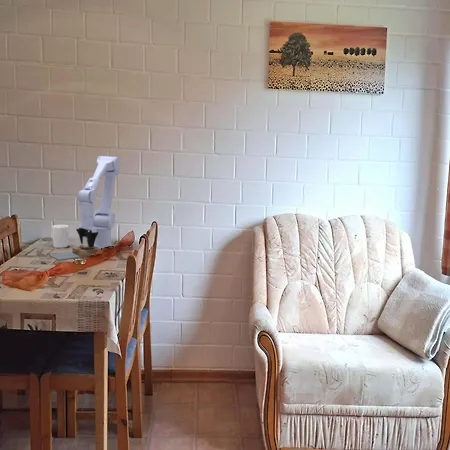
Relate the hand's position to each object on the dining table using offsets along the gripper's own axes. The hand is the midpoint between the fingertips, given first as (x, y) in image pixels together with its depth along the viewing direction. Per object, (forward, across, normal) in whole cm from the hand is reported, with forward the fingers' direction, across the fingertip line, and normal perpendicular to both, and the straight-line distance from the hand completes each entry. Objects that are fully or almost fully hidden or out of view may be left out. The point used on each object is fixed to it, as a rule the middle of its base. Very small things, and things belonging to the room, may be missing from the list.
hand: (87, 245), depth 246 cm
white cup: (+4, -20, -4) cm, 21 cm away
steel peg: (+4, 0, 0) cm, 4 cm away
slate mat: (+4, 0, -11) cm, 12 cm away
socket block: (+4, 0, 0) cm, 4 cm away
